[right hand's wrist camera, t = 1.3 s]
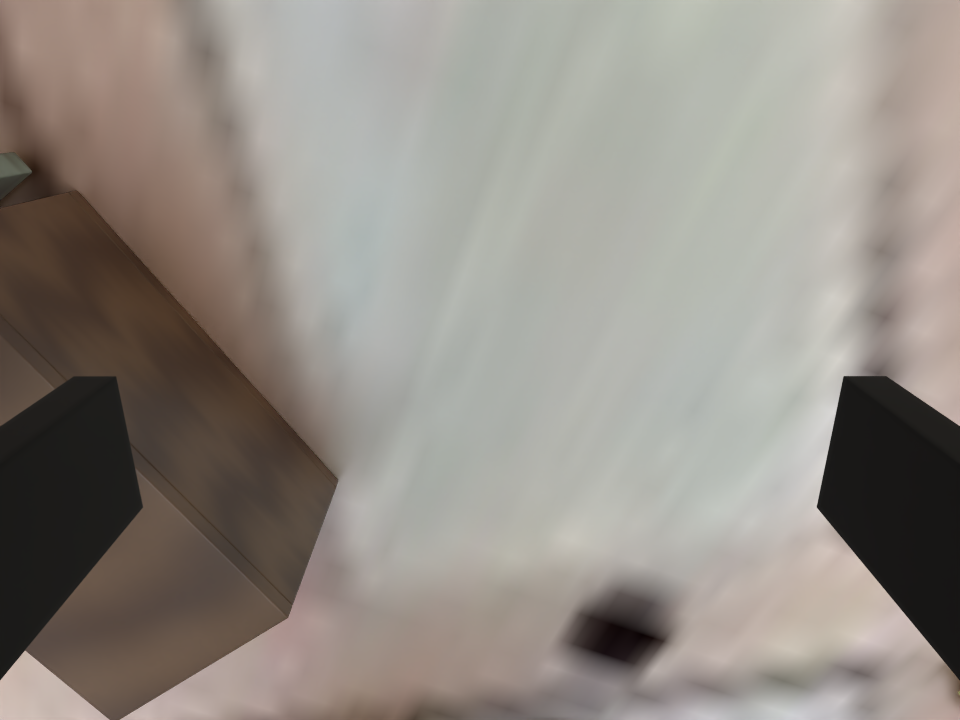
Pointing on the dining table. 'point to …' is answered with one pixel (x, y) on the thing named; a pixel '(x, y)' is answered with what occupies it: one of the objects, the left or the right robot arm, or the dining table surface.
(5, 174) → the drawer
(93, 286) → the large taupe box
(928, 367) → the dining table surface
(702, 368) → the dining table surface
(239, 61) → the dining table surface
